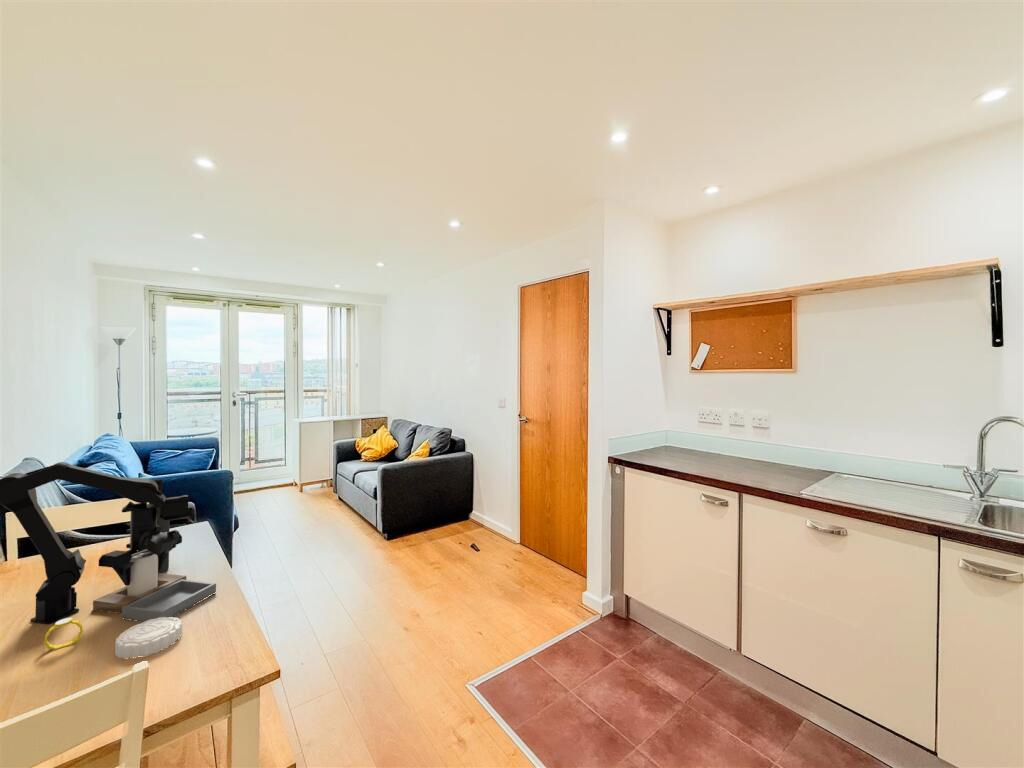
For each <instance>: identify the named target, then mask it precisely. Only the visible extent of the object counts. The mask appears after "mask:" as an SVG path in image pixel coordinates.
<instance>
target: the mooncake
mask: <svg viewBox="0 0 1024 768" xmlns="http://www.w3.org/2000/svg"><path fill="white" fill-rule="evenodd" d="M182 620H183V619H180V618H178V617H176V616H175V617H168V618H167V617H163V618H162V617H159V618H156V619H150V620H148V621H145V622H140V623H138V624H135V625H132V626H131V627H130V628H127V629H126V630H125V631H123V632H122V633H120V634H119V636H118V637H116V639H115V645H114V646H115V647H114V656H116V657H117V658H118V659H123V658H124V660H127V659H126V658H129V657H131V658H133V657H134V658H135V657H138V656H146V657H147V656H150V655H154V654H153V653H155V654H157V653H159V652H161V651H162V650H161V649H164V650H166V649H167V648H166V647H168V646H169V645H171V644H173V643H174V642H175V641H176V640H177V639H178V638H180V639H181V636H180V635H181V634H182V635H183V621H182ZM176 642H177V641H176ZM176 642H175V643H176ZM173 645H174V644H173ZM171 646H172V645H171ZM169 647H170V646H169ZM169 647H168V648H169ZM165 648H166V649H165ZM160 650H161V651H160ZM158 651H159V652H158ZM149 654H150V655H149ZM131 658H130V659H131Z"/></svg>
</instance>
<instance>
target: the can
mask: <svg viewBox="0 0 1024 768" xmlns="http://www.w3.org/2000/svg"><path fill="white" fill-rule="evenodd" d="M130 562H134V564H133V565H132V566H131V576H130V585H128V588H127V595H128V596H136V597H137V596H139V595H141V594H143V593H145V592H147V591H150V590H152V589H154V588H156V587H158V556H157V555H156V554H153V553H152V552H151V551H145V552H142V553H140V554H137V555H134V556H132V559H131V561H130Z"/></svg>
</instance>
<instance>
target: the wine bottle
mask: <svg viewBox="0 0 1024 768" xmlns="http://www.w3.org/2000/svg"><path fill="white" fill-rule="evenodd" d="M152 480H153V481H155V482H156V483H157V485H158V490H159V491H160V492H161V493H162V489H163V488H162V486H163V478H153V479H152ZM162 494H163V493H162ZM148 504H150V503H147V505H148ZM170 522H171V521H165V520H163V518H161V519H160V508H157V526H161V531H162V533H166V532H168V533H169V532H170V527H171V525H170ZM148 551H149V550H148ZM169 567H170V552H169V553H168V554H167V556H166V558H165V560H164V563H163V565H162V567H161V570H160V572H158V573H164V572H166V571H167V570H169ZM165 570H166V571H165Z"/></svg>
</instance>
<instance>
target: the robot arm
mask: <svg viewBox="0 0 1024 768" xmlns="http://www.w3.org/2000/svg"><path fill="white" fill-rule="evenodd" d="M58 480H59V481H64V482H69V483H73V484H77V485H81V486H87V487H90V488H95V489H99V490H104V491H109V492H112V493H115V494H117V495H119V496H121V497H123V498H124V499H128V500H129V502H128V503H127V504H126V505H125V506H123V507H122V508H121V513H128V512H130V526H129V527H130V528H128V529H126V534H128V535H130V536H129V537H130V538H129V543H127V544H126V549H129V550H124V551H123V550H113V551H110V552H107V553H105V554H102V555H101V556H100V557H99V558H98V567H102V568H103V567H104V568H110V569H112V570H113V571H115V573H116V574H117V575H118V577H119V579H120V580H121V581H122V583H123V584H124V586H125V587H126V586H128V585H130V576H131V566H132V565H133V564H134V562H130V561H131V559H132V556H134V555H137V554H140V553H142V552H145V551H148V550H149V551H151V552H152V553H153V554H156V555H157V556H158V572H160V570H161V567H162V565H163V563H164V560H165V558H166V556H167V554H168V553H169V554H170V552H171V551H172V550H173V549H175V548H176V547H177V545H179V544H182V543H183V536H182V534H181V533H180V531H179V530H177V529H173V530H171V531H170V530H169V533H168V532H166V533H162V531H161V526H157V508H160V519H161V518H163V520H165V521H170V522H171V521H175V520H183V519H189V518H190V506H189V504H190V503H189V495H188V494H185V495H184V494H183V495H179V496H171V497H166V495H165V494H163V493H161V492H160V491H159V490H158V485H157V483H156V482H155V481H153V479H149V478H142V477H126V476H118V475H115V474H109V473H105V472H101V471H98V470H94V469H89V468H85V467H80V466H77V465H75V464H74V465H73V464H70V463H68V462H66V461H64V462H62V461H60V462H57V463H54V464H51V465H50V466H45V467H43V468H38V469H35V470H32V471H28V472H26V473H23V472H15V473H9V474H8V475H7V474H6V475H5V476H4V477H2V478H0V505H1V506H2V507H4V508H5V509H7V510H9V511H10V512H11V513H13V514H14V515H15V517H16V518H17V520H18V522H19V524H20V525H21V526H22V528H23V530H24V531H25V533H26V534H27V536H28V537H29V539H30V541H31V542H32V544H33V545H34V547H35V548H36V550H37V551H38V553H39V555H40V556H41V558H42V559H43V563H44V564H43V565H44V572H45V575H46V579H45V580H44V581H43V582H42V584H41V586H40V587H39V589H38V590H37V592H36V593H35V616H34V617H31V618H30V622H33V623H39V624H40V623H41V624H46V625H47V624H48V625H49V624H53V623H56V622H57V621H59V620H62V619H65V618H67V617H69V616H71V615H74V614H76V613H77V612H79V611H80V608H77V597H78V596H77V595H78V594H77V593H78V592H77V591H76V587H75V585H76V584H77V583H78V582H79V581H80V579H81V577H82V575H83V572H84V571H85V568H86V567H85V564H86V563H87V560H86V559H85V558H83V556H82V554H81V551H80V549H76V550H74V551H73V552H72V551H70V550H69V549H68V548H66V547H65V545H64V544H63V543H64V542H62V540H61V539H60V537H59V535H58V533H57V532H56V530H55V529H54V527H53V526H52V524H51V522H50V520H49V519H48V517H47V516H46V513H44V511H43V509H42V508H41V506H40V504H39V502H38V497H37V489H36V488H39V487H41V486H44V485H46V484H49V483H51V482H54V481H58ZM149 503H150V504H149ZM147 504H148V505H147Z"/></svg>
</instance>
